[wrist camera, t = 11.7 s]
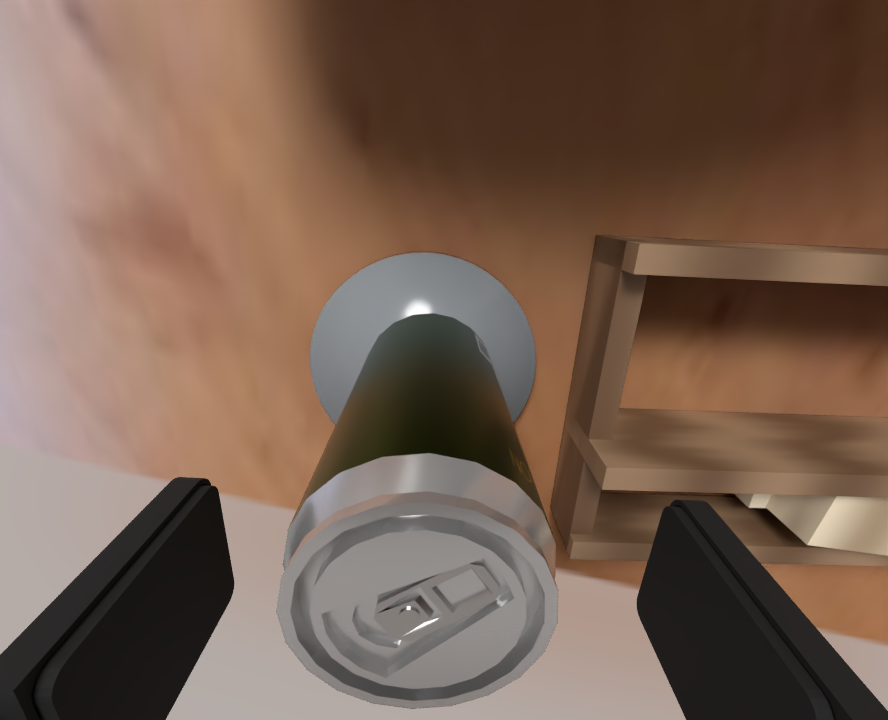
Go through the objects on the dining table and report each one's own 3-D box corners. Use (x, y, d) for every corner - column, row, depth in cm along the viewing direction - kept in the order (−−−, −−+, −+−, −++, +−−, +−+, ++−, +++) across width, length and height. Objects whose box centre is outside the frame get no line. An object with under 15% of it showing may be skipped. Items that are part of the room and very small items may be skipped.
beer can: (449, 284, 17) (475, 430, 6) (511, 385, 19) (622, 649, 8) (344, 349, 18) (195, 581, 7) (411, 441, 20) (379, 749, 9)
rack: (1049, 257, 18) (1262, 276, 14) (909, 516, 23) (1029, 596, 18) (596, 234, 18) (654, 246, 13) (550, 507, 22) (580, 587, 18)
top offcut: (911, 471, 20) (973, 506, 17) (877, 522, 21) (931, 561, 18) (794, 453, 19) (842, 487, 17) (765, 506, 20) (807, 544, 18)
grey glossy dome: (545, 257, 18) (550, 259, 17) (519, 458, 21) (522, 467, 21) (307, 245, 17) (302, 247, 17) (321, 452, 21) (316, 461, 20)
